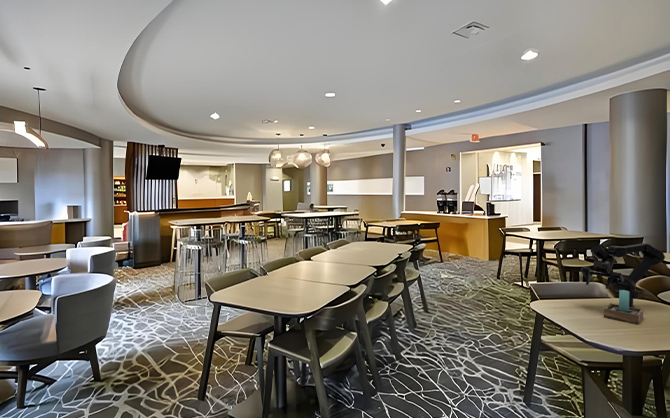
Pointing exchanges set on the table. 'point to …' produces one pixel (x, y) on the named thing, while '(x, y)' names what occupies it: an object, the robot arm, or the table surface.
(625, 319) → the tray
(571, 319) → the table surface
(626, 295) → the peg
